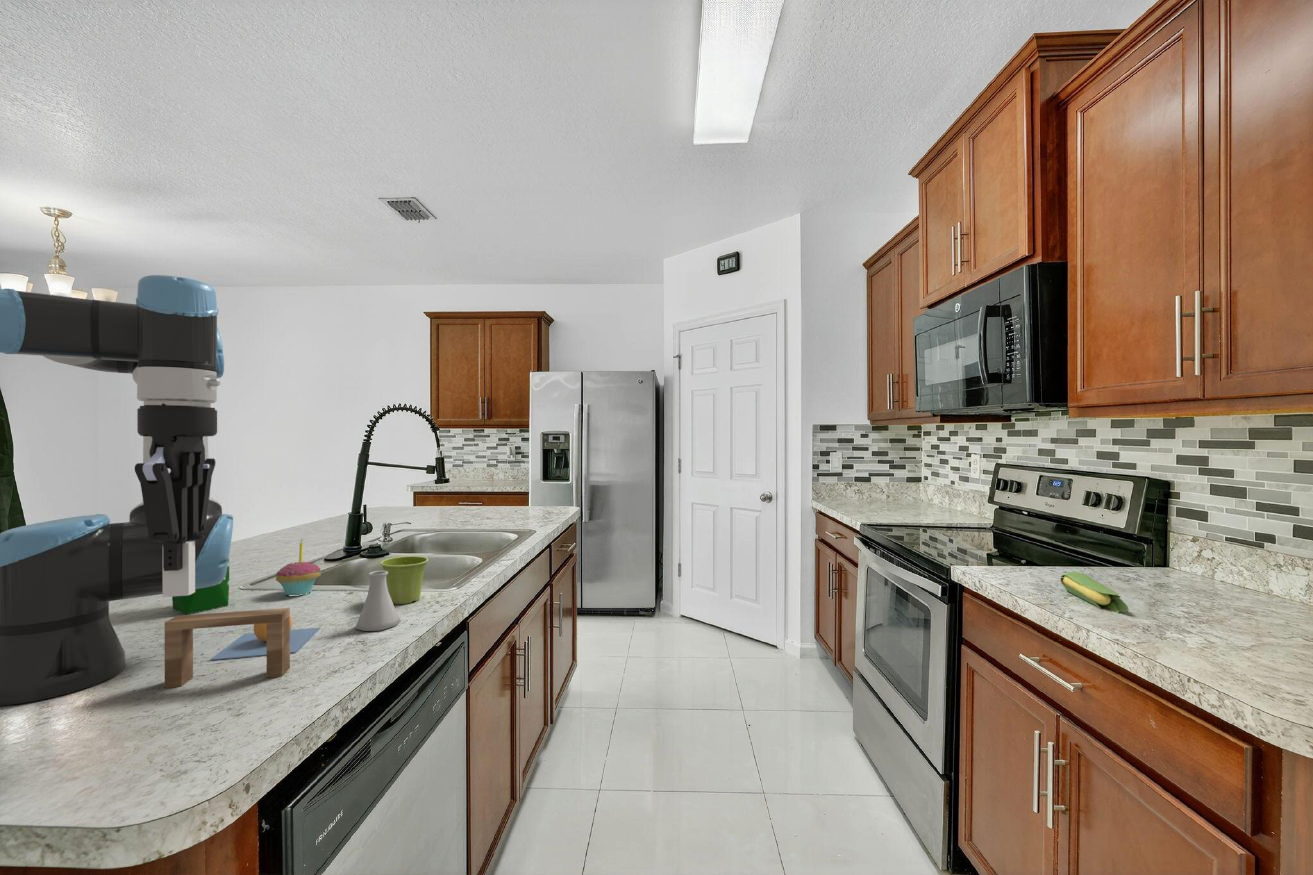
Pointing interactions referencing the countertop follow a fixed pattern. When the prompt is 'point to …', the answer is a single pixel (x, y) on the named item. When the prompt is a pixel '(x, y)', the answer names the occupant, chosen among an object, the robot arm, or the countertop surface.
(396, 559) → the plant pot
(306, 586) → the cupcake
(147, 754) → the countertop surface
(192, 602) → the milk carton
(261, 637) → the ball
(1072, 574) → the edible corn
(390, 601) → the flask
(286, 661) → the bridge
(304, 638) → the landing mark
